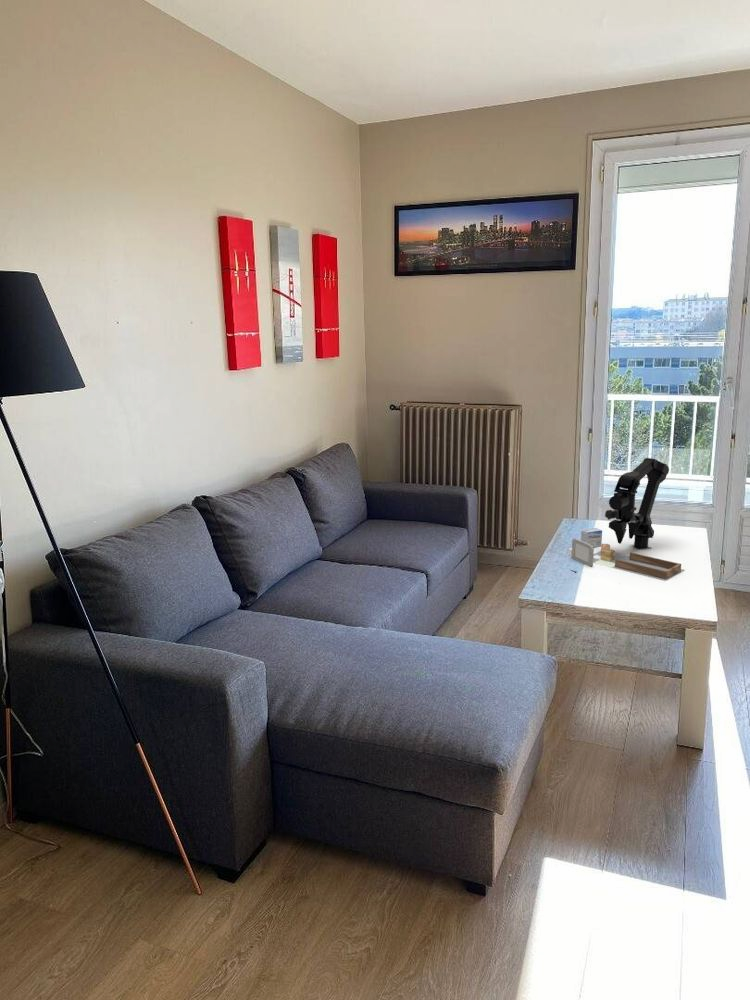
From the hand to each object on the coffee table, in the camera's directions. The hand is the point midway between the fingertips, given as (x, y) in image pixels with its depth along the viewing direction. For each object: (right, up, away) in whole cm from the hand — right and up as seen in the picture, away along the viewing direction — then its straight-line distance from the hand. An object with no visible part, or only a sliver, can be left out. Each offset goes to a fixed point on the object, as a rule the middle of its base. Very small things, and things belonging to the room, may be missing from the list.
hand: (625, 540), depth 316 cm
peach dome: (-8, -6, +2) cm, 10 cm away
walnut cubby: (+3, -10, -17) cm, 20 cm away
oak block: (-9, -7, -4) cm, 12 cm away
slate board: (-1, -10, -11) cm, 15 cm away
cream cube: (-20, -7, +3) cm, 22 cm away
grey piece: (-23, -10, -8) cm, 27 cm away
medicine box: (-11, -4, +13) cm, 18 cm away
